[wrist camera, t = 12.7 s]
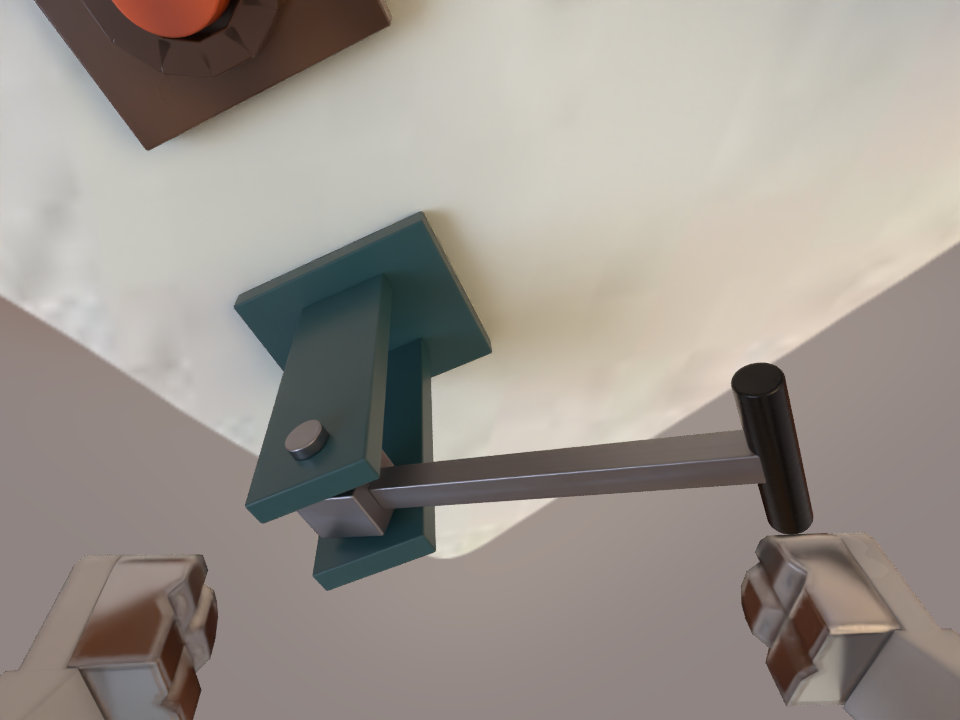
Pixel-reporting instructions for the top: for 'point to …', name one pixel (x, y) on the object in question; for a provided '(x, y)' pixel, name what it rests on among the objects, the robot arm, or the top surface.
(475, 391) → the top surface
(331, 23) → the control block
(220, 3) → the button
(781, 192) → the top surface
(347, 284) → the bracket
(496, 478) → the lever
